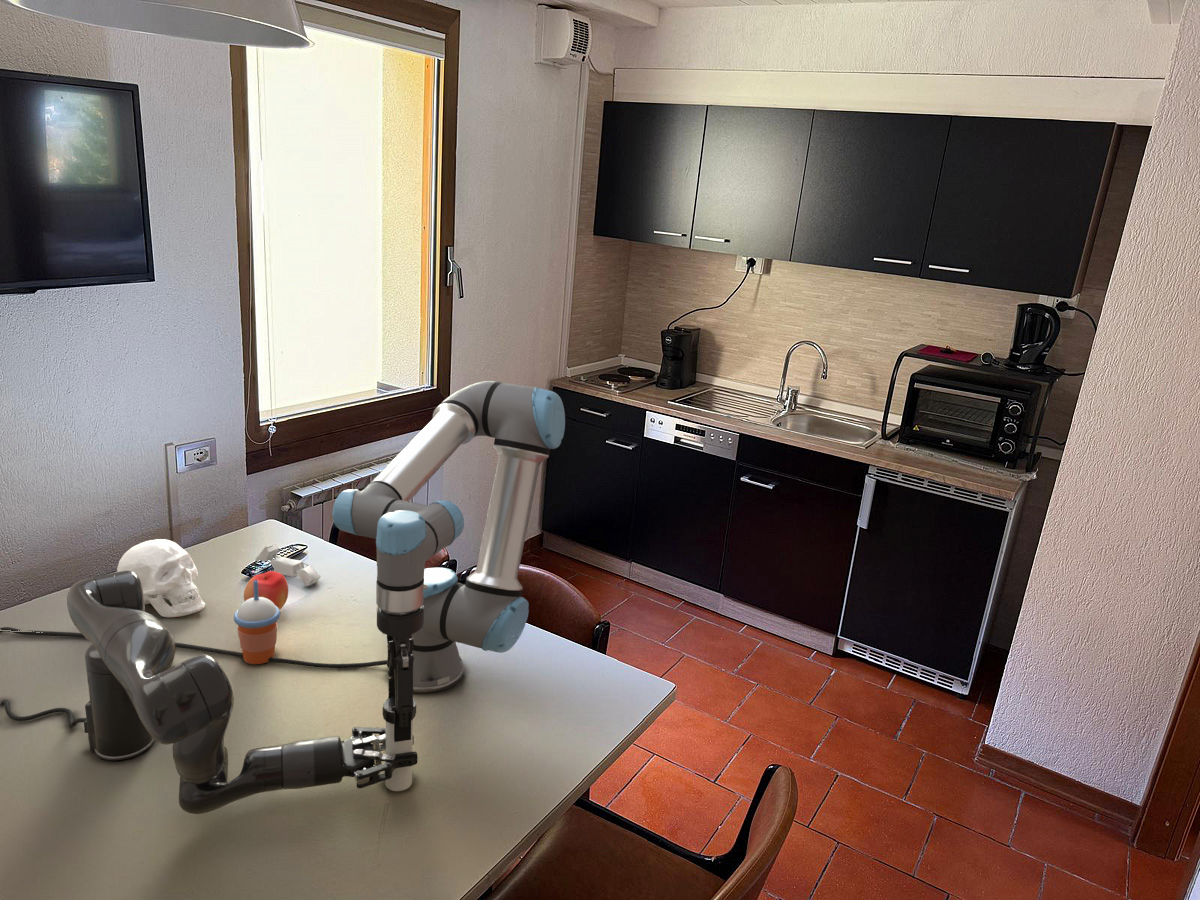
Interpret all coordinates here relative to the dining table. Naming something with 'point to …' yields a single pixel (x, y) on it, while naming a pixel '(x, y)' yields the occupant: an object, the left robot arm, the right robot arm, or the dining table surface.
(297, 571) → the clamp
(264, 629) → the cup with straw
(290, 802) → the dining table surface
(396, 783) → the jar
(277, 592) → the apple
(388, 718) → the lid
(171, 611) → the skull
